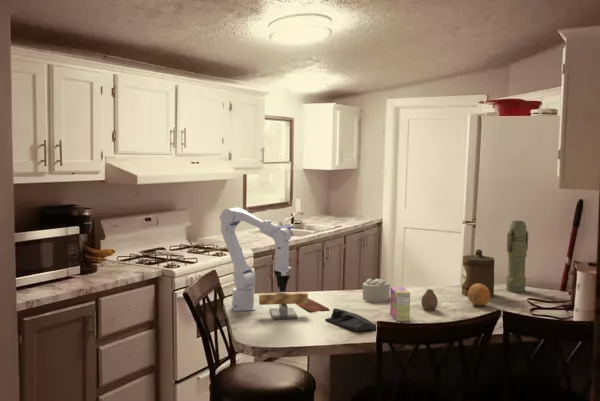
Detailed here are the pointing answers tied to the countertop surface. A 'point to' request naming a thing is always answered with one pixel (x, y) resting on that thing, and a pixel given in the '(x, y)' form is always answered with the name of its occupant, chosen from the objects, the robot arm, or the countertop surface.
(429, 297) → the vase
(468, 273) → the wooden container
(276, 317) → the stand
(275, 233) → the robot arm
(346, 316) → the dark slate chunk
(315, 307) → the wooden tablet
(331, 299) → the countertop surface
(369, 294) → the lumpy-topped squat cylinder
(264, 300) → the oak bar
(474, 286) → the orange fruit
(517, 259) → the green totem statue
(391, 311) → the box
